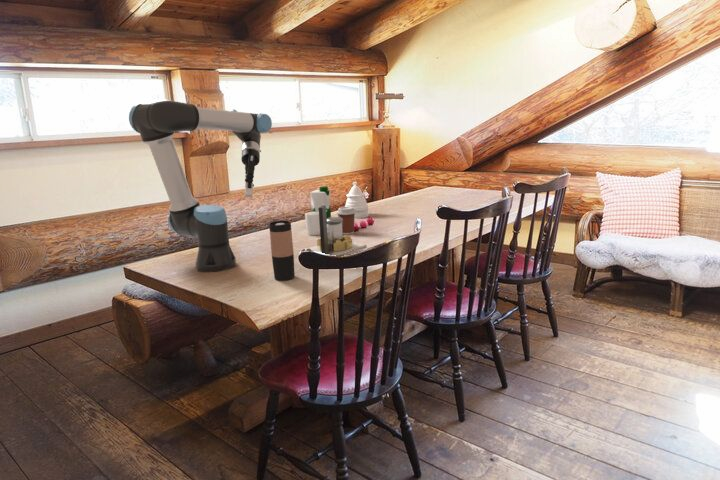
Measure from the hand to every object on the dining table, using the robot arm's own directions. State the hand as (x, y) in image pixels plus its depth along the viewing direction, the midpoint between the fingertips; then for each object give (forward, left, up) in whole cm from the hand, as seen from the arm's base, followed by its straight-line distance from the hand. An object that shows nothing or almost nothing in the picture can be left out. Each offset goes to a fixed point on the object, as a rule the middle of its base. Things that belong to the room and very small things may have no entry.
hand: (248, 195), depth 211 cm
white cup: (+41, +10, -26) cm, 50 cm away
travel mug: (-10, -32, -26) cm, 42 cm away
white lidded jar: (+27, -19, -25) cm, 42 cm away
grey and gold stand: (+24, -22, -24) cm, 41 cm away
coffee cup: (+51, -2, -26) cm, 57 cm away
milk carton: (+54, +19, -26) cm, 63 cm away
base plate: (+27, -19, -25) cm, 42 cm away
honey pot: (+82, +22, -26) cm, 89 cm away
